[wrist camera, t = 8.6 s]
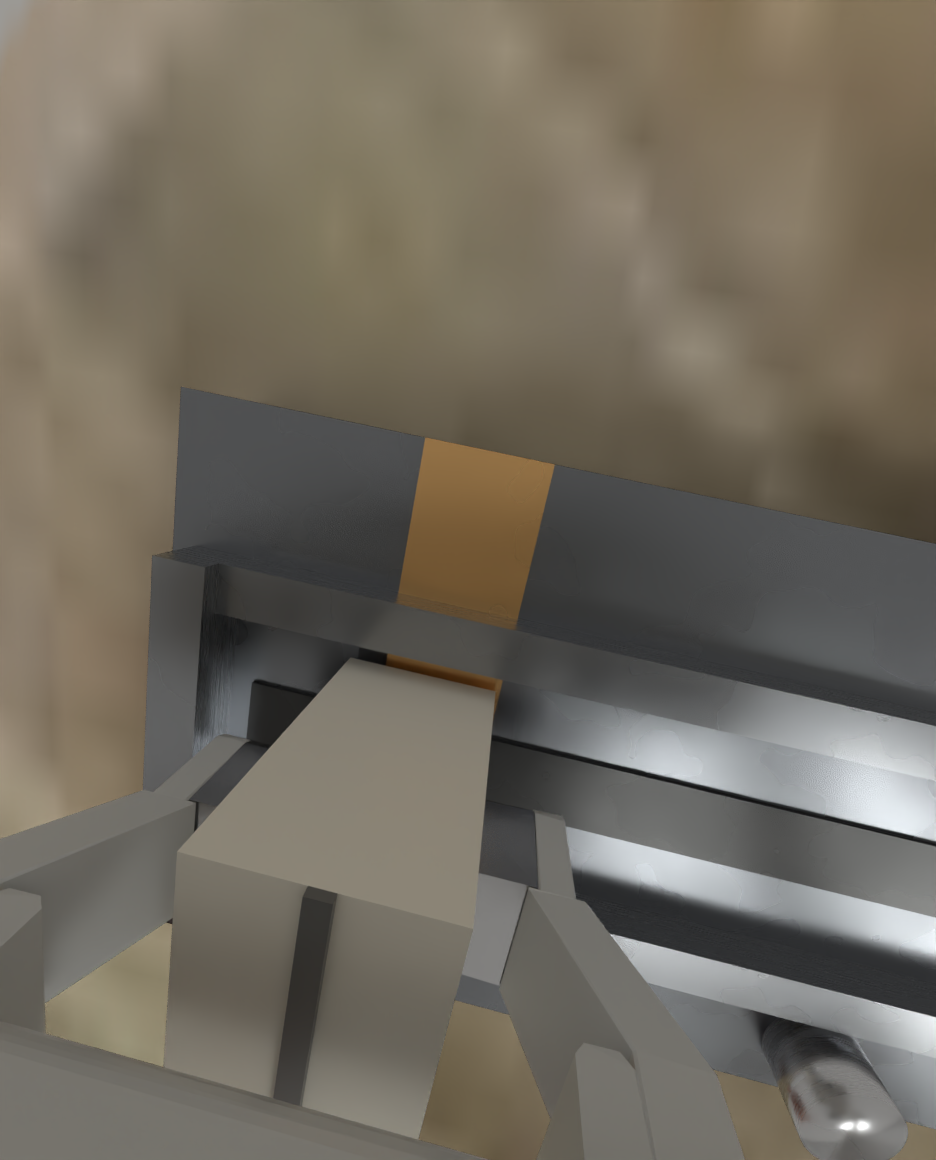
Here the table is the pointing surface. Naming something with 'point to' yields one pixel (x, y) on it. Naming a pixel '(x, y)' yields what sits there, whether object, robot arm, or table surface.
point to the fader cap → (336, 901)
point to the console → (610, 715)
